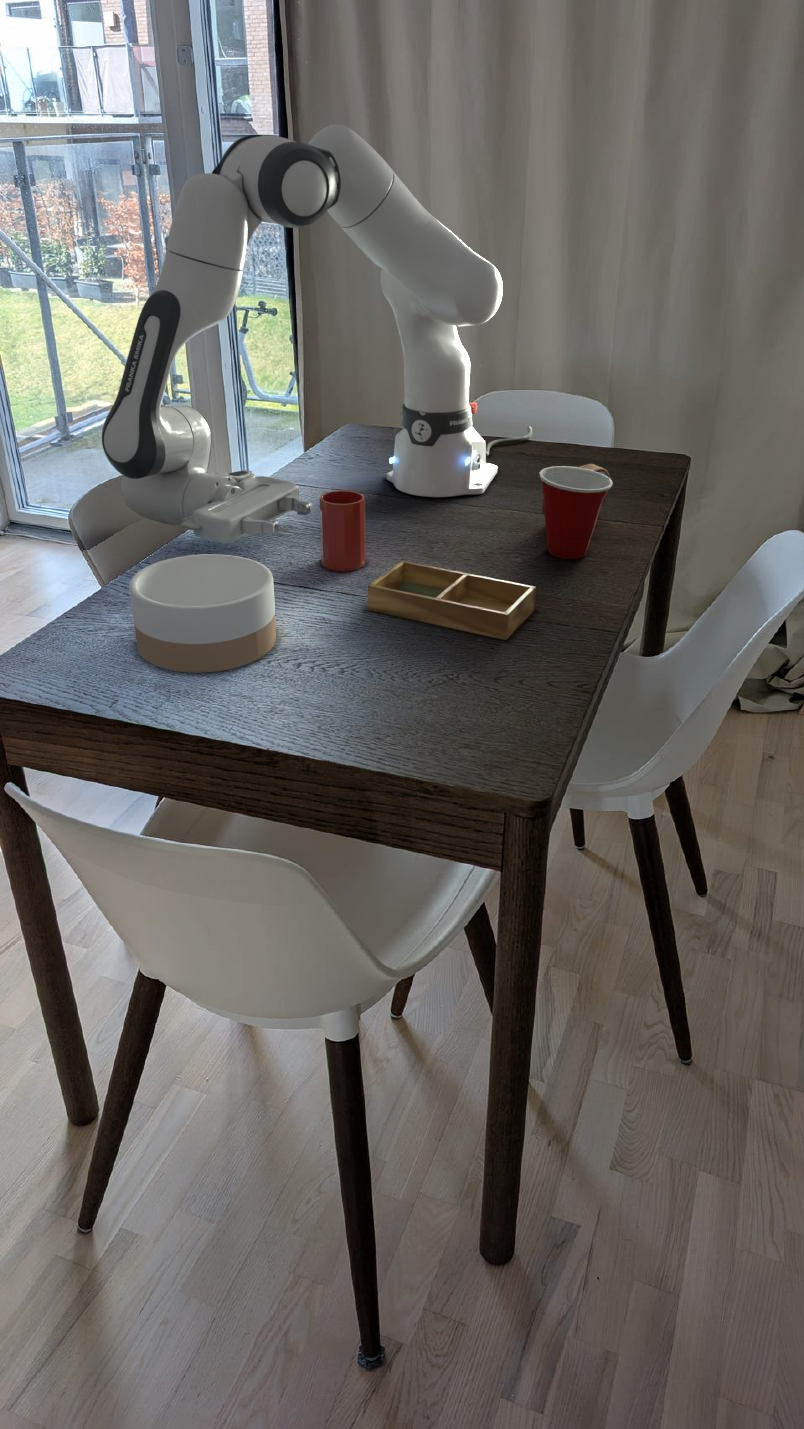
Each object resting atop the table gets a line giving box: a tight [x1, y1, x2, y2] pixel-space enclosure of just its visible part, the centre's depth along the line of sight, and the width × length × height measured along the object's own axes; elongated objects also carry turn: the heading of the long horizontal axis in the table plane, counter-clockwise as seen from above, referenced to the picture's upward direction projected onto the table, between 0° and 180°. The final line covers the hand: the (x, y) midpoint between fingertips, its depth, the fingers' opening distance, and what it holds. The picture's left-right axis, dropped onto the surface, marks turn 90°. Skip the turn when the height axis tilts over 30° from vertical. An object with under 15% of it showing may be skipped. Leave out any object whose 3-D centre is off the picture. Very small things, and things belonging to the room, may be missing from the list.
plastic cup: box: [538, 465, 614, 560], centre depth 154 cm, size 11×11×12 cm
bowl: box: [128, 553, 277, 674], centre depth 127 cm, size 17×17×8 cm
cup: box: [319, 489, 367, 572], centre depth 150 cm, size 6×6×10 cm
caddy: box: [367, 560, 537, 641], centre depth 137 cm, size 10×20×4 cm, turn 63°
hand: (293, 518), depth 153 cm, fingers open, 8 cm apart
